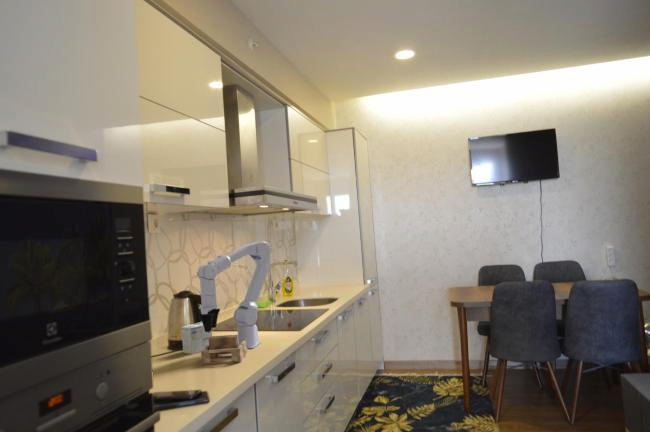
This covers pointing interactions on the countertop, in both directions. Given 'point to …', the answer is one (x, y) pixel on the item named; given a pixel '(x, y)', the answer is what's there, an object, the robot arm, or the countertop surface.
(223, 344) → the brown wooden block
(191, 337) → the light bulb box
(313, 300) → the countertop surface
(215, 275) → the robot arm
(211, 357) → the wooden stool
